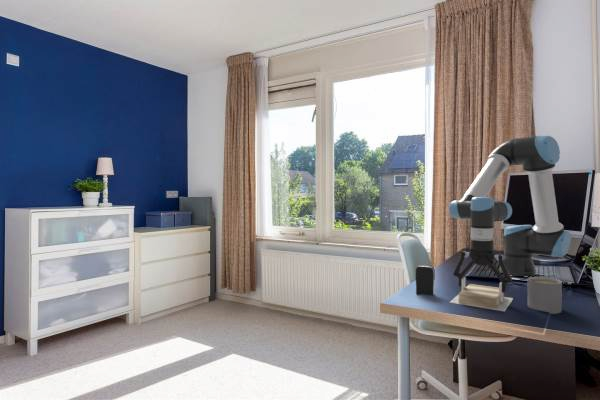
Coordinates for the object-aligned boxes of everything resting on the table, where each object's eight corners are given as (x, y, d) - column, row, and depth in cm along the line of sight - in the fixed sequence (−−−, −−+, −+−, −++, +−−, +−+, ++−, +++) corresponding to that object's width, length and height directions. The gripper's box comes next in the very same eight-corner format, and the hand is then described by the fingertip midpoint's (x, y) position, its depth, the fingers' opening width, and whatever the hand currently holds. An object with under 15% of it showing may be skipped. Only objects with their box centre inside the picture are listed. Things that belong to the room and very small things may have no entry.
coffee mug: (564, 315, 127) (564, 284, 127) (528, 311, 132) (529, 282, 131) (557, 303, 140) (557, 275, 139) (525, 300, 144) (525, 273, 143)
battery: (435, 294, 153) (435, 265, 152) (433, 297, 150) (433, 267, 149) (417, 292, 157) (417, 263, 156) (415, 294, 153) (415, 265, 153)
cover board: (469, 292, 153) (469, 283, 153) (503, 297, 146) (504, 288, 145) (458, 302, 140) (458, 293, 140) (495, 309, 133) (495, 298, 133)
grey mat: (462, 292, 155) (462, 290, 155) (513, 299, 145) (513, 298, 145) (449, 303, 141) (449, 302, 141) (504, 313, 130) (504, 311, 130)
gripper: (444, 238, 146) (444, 295, 147) (518, 243, 132) (517, 306, 133) (450, 235, 152) (450, 290, 153) (521, 240, 138) (521, 301, 139)
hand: (481, 298), depth 143 cm, fingers closed on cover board, 12 cm apart
